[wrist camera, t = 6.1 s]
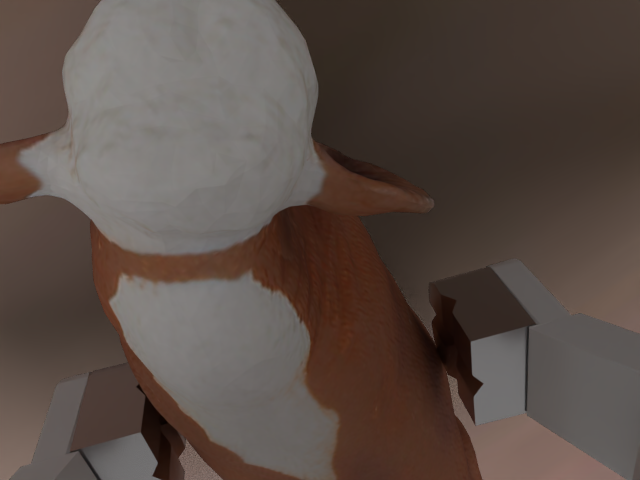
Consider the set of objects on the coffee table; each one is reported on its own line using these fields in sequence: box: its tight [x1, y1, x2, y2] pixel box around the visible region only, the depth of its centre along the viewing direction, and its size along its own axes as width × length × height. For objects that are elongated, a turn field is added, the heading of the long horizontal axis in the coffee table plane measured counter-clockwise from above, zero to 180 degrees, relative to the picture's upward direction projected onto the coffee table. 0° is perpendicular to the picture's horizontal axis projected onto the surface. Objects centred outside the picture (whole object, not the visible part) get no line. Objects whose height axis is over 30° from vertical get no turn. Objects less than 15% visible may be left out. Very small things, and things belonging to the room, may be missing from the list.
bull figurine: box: [0, 0, 482, 480], centre depth 10 cm, size 4×14×8 cm, turn 19°
